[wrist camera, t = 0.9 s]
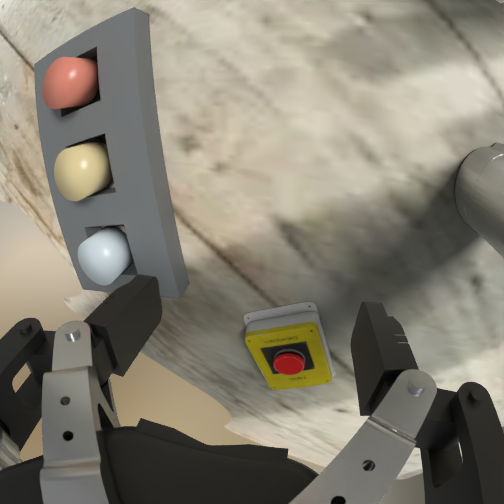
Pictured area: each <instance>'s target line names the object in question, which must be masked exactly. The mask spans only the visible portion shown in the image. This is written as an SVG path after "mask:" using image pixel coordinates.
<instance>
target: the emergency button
mask: <svg viewBox="0 0 504 504" xmlns="http://www.w3.org/2000/svg"><path fill="white" fill-rule="evenodd" d="M243 319H244V322H245V324H246V326H247V329H246V335H245V343H246V344H247V346H248V348H249V350H250V352H251V354H252V356H253V358H254V359H255V361H256V363H257V365H258V367H259V369H260V371H261V372H262V374H263V376H264V378H265V380H266V381H267V383H268V385H269V387H270V388H271V389H274V390H280V389H290V388H299V387H307V386H314V385H321V384H327V383H330V382H331V381H332V378H333V377H334V376H335V370H334V366H333V362H332V358H331V355H330V351H329V348H328V344H327V340H326V337H325V333H324V330H323V326H322V323H321V320H320V316H319V313H318V309H317V306H316V305H315V303H313V302H311V301H306V302H301V303H296V304H291V305H286V306H281V307H275V308H270V309H265V310H259V311H254V312H248V313H246V314H245V315H244V317H243Z"/></svg>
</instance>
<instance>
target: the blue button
mask: <svg viewBox="0 0 504 504" xmlns="http://www.w3.org/2000/svg"><path fill="white" fill-rule="evenodd" d="M78 260H79V263H80V266H81V268H82V270H83V271H84V273H85V274H86V275H87V276H88V277H89V278H90V279H91V280H92V281H94V282H95V283H97V284H99V285H109V284H111V283H112V282H113V281H114V280H115V279H116V278H117V277H118V276H119V275H120V274H121V273H122V272H123V271H124V270H125V269H126V268H127V267H128V266H129V265H130V264H131V263H132V261H133V256H132V253H131V249H130V246H129V242H128V239H127V235H126V234H125V233H124V232H123V231H121V230H120V229H118V228H116V227H114V226H106V227H104V228H102V229H101V230H99V231H98V232H96V233H95V234H94V235H92V236H91V237H89V238H88V239H87V240H85V241H84V242H82V243H81V244H80V246H79V248H78Z"/></svg>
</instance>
